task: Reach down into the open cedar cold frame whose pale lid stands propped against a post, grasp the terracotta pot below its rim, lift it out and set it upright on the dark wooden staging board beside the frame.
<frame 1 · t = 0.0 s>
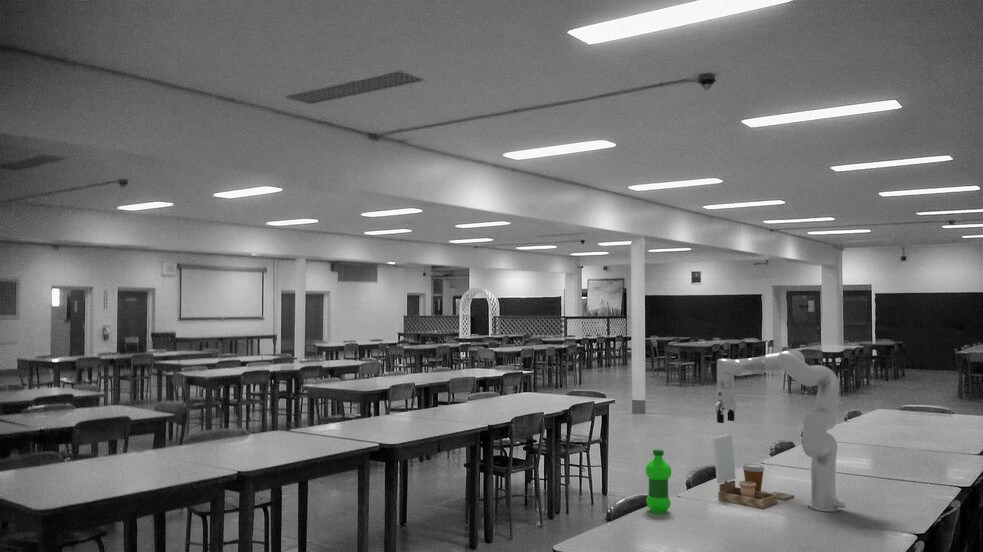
hand: (725, 421, 349), 31 cm above the table, tool pointing down, fingers open, 9 cm apart
plastic bottle: (658, 511, 307), on the table
pot: (747, 501, 323), point 1 cm above the table, touching cold frame
lid: (724, 458, 331), point 18 cm above the table, hinge at 95.0°
staging board: (780, 498, 331), on the table
disposable coffee cup: (753, 492, 343), on the table
cold frame: (747, 502, 323), on the table
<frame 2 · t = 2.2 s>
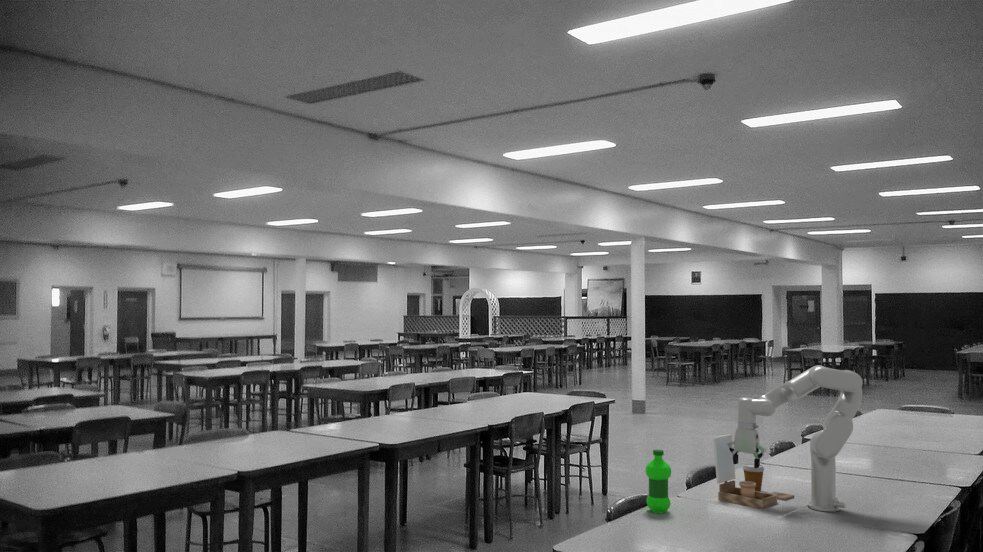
hand: (746, 465, 323), 16 cm above the table, tool pointing down, fingers open, 9 cm apart
nothing on the table moved.
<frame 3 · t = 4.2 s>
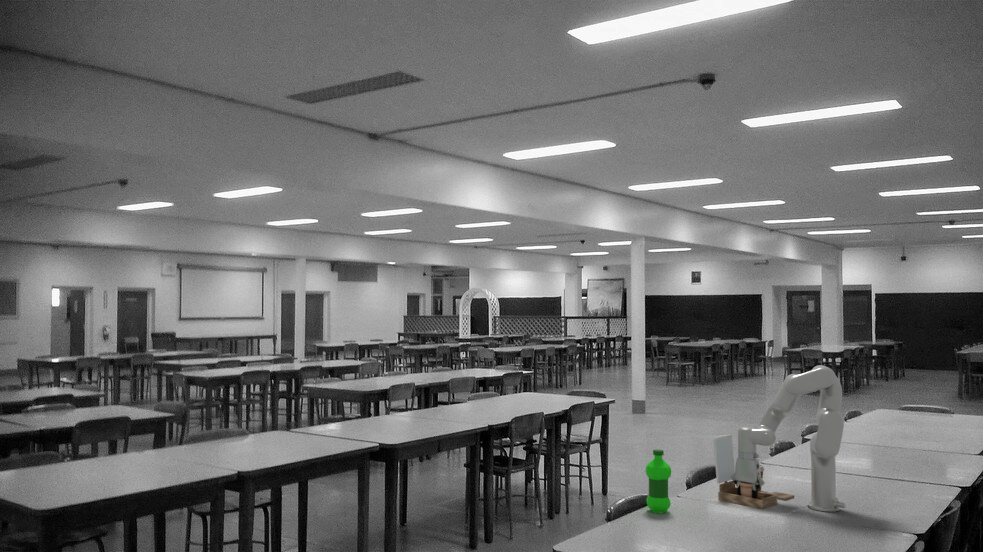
hand: (747, 497, 323), 2 cm above the table, tool pointing down, fingers closed on pot, 5 cm apart
pot: (747, 501, 323), point 1 cm above the table, touching cold frame, gripper
everything else where it was.
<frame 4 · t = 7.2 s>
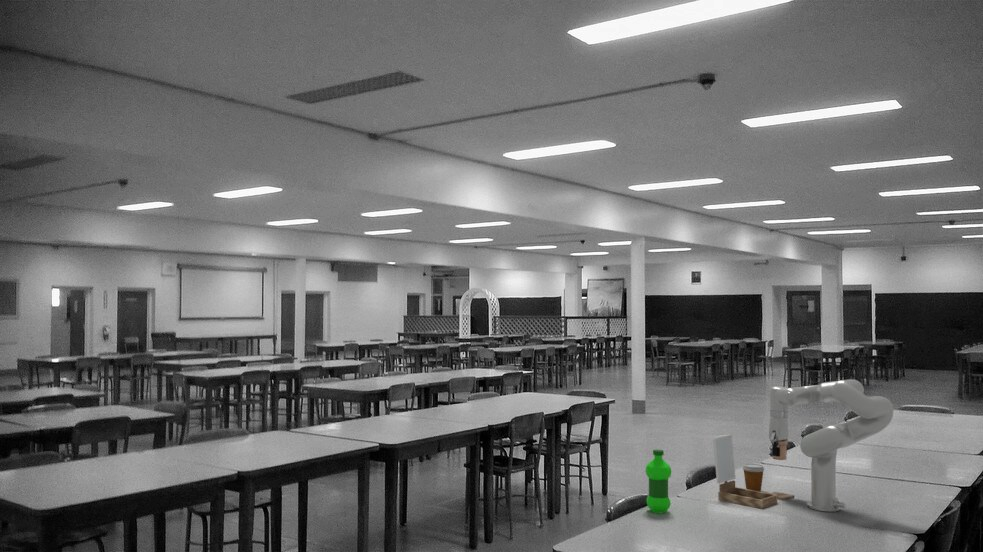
hand: (779, 454, 331), 19 cm above the table, tool pointing down, fingers closed on pot, 5 cm apart
pot: (779, 458, 331), point 17 cm above the table, touching gripper
everything else where it was.
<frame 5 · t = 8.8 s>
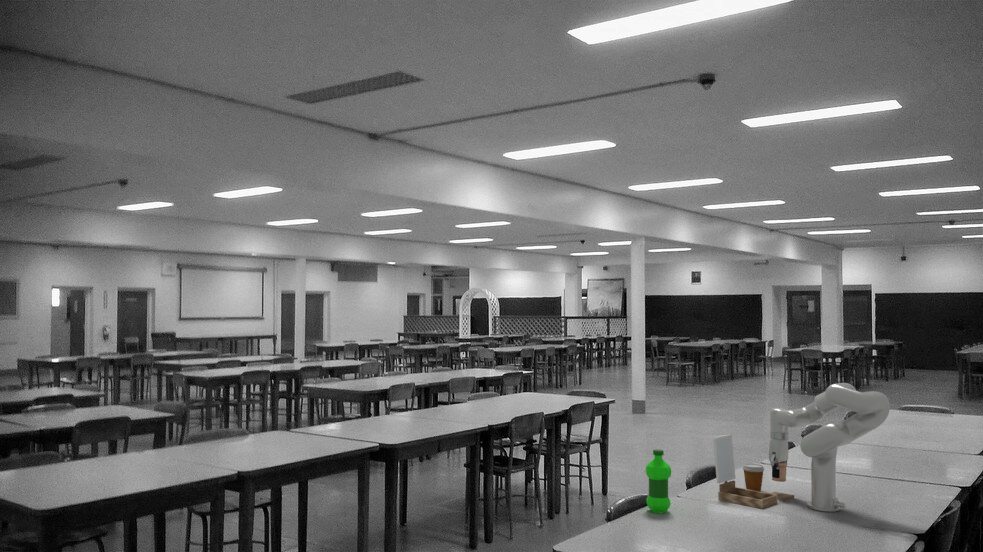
hand: (779, 476, 331), 10 cm above the table, tool pointing down, fingers closed on pot, 5 cm apart
pot: (779, 480, 331), point 8 cm above the table, touching gripper
everything else where it was.
when the fingers open (5 cm above the table, at t = 10.2 s): pot drops 2 cm, resting on staging board.
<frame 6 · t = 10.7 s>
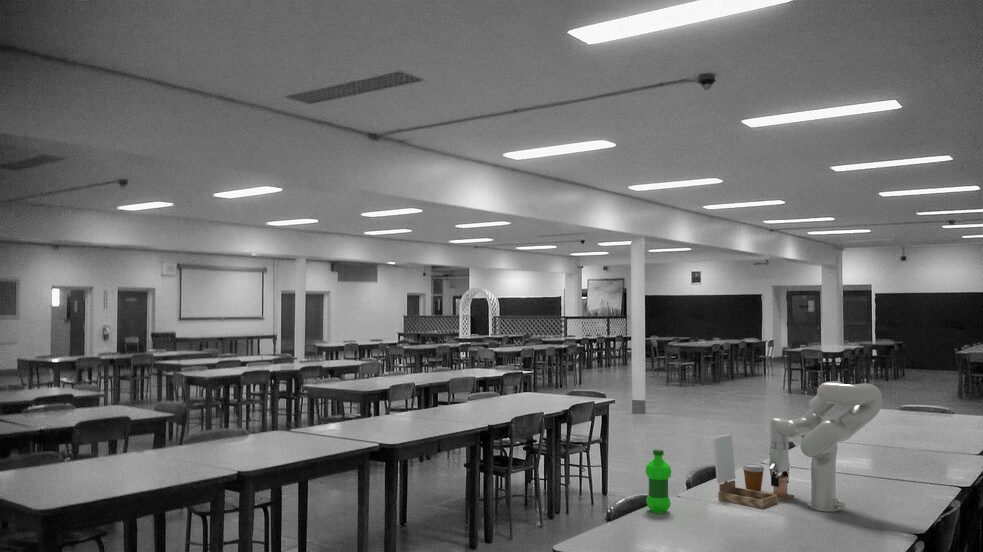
hand: (779, 484, 331), 6 cm above the table, tool pointing down, fingers open, 9 cm apart
pot: (780, 494, 331), point 1 cm above the table, touching staging board
everything else where it was.
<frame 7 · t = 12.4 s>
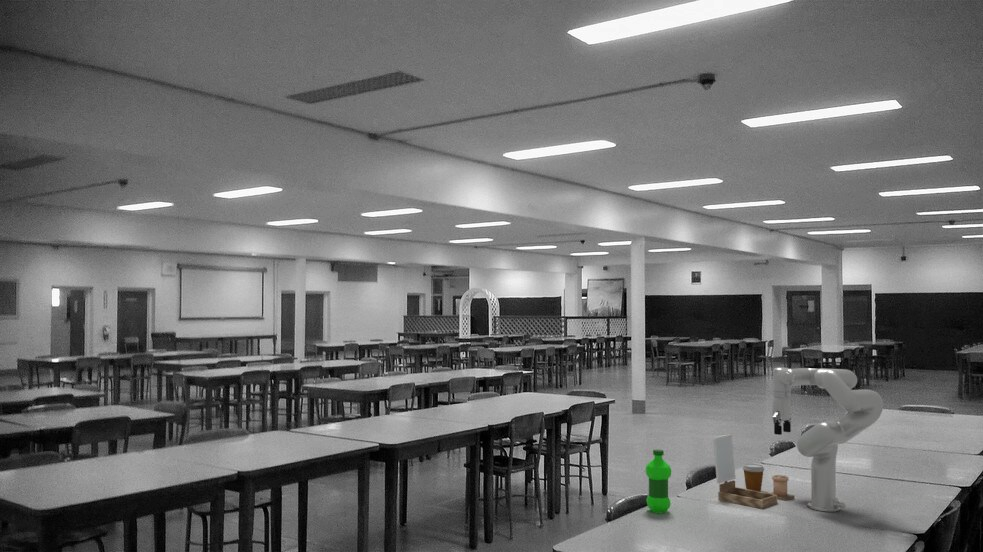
hand: (782, 433, 336), 28 cm above the table, tool pointing down, fingers open, 9 cm apart
nothing on the table moved.
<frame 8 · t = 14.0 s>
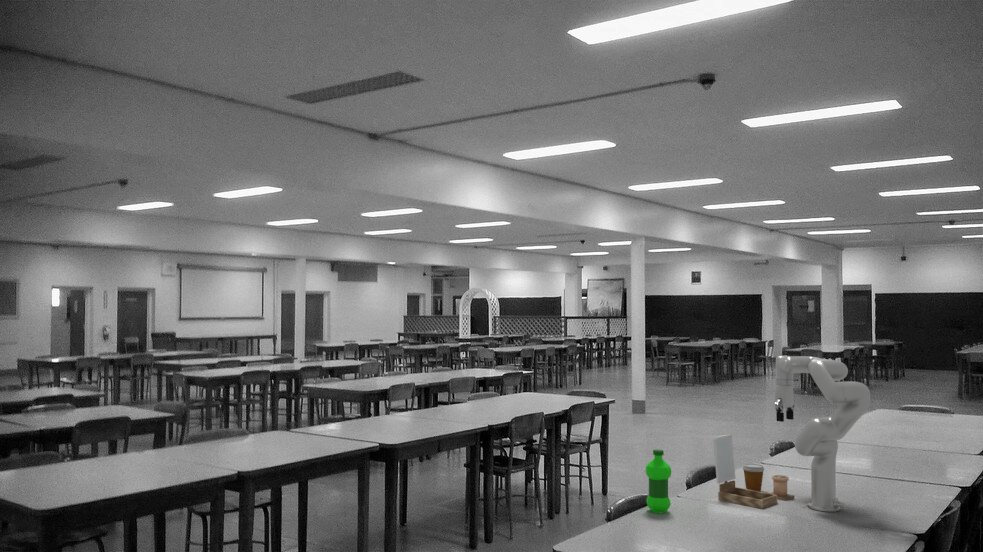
hand: (785, 420, 340), 33 cm above the table, tool pointing down, fingers open, 9 cm apart
nothing on the table moved.
at the end: pot inside the target area on the staging board (0.3 cm from its centre), point 1.5 cm above the staging board's base; pot tilted 0°; the gripper is holding nothing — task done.
